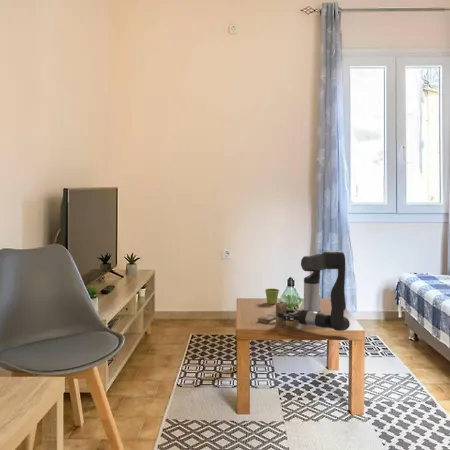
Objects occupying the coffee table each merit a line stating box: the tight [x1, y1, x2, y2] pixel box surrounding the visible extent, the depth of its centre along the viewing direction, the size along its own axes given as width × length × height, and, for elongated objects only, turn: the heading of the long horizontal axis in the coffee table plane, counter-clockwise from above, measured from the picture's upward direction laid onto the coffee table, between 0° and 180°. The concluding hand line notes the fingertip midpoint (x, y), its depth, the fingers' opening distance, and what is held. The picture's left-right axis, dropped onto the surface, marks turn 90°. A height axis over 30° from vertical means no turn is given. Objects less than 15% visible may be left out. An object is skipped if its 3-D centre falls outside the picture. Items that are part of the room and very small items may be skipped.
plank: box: [275, 301, 287, 328], centre depth 252 cm, size 4×5×12 cm
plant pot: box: [264, 288, 280, 305], centre depth 304 cm, size 9×9×9 cm
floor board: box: [257, 311, 287, 325], centre depth 264 cm, size 18×10×2 cm, turn 143°
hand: (282, 313), depth 251 cm, fingers open, 8 cm apart
